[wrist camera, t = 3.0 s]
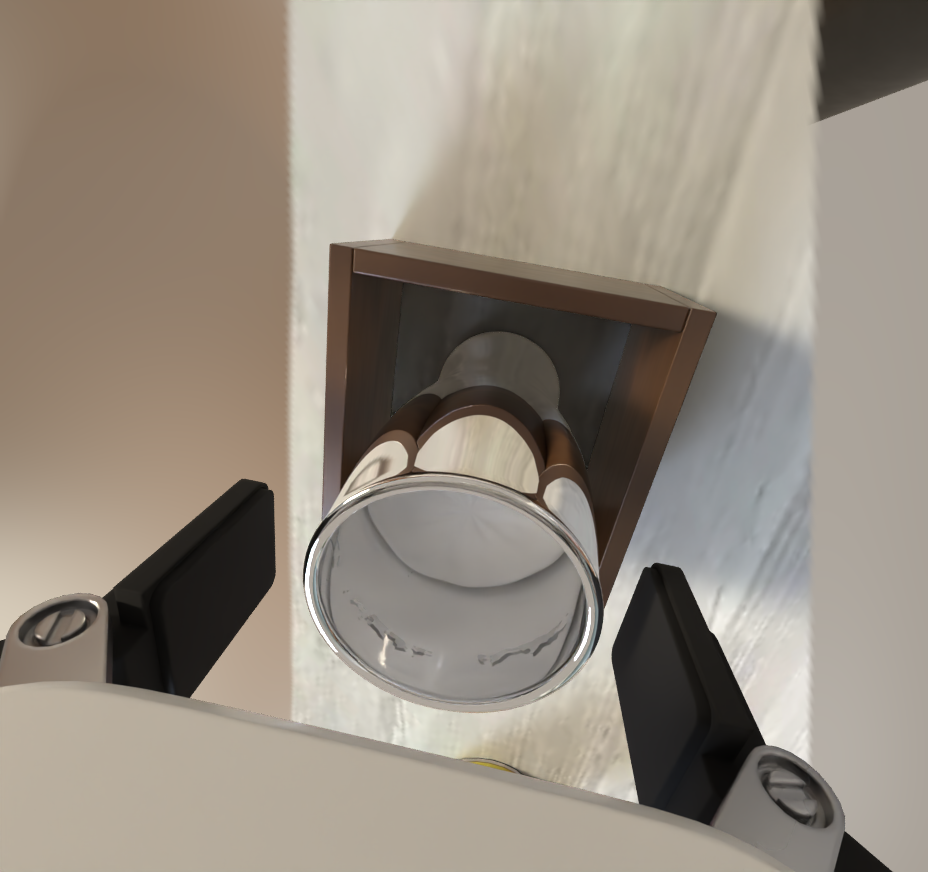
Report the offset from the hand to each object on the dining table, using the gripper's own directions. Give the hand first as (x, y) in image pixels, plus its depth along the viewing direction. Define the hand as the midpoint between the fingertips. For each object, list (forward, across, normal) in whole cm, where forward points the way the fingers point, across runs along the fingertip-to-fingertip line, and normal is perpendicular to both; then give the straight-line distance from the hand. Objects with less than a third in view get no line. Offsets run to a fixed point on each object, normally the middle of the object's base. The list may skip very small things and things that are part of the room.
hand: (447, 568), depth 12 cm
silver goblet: (+14, 0, 0) cm, 14 cm away
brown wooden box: (+13, 0, 0) cm, 13 cm away
